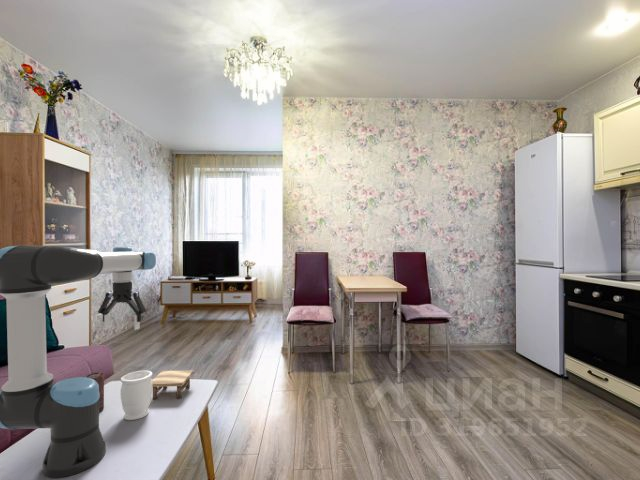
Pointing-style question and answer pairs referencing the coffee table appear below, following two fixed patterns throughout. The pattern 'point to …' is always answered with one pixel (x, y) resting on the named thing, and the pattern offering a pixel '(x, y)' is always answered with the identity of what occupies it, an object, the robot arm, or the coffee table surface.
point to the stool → (172, 381)
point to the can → (100, 380)
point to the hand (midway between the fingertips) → (122, 329)
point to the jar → (136, 394)
